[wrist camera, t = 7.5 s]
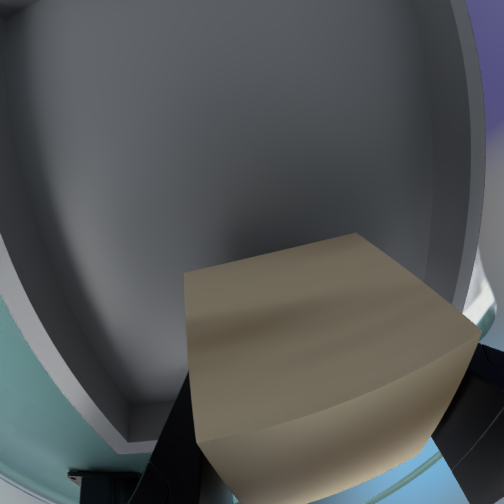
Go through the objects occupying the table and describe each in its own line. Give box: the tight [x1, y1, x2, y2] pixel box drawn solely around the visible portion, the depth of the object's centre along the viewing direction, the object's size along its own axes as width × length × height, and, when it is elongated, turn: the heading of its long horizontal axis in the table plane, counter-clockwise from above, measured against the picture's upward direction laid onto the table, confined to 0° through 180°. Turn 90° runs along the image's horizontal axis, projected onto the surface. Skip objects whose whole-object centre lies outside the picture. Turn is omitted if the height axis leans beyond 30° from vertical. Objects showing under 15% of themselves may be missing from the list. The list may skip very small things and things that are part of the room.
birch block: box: [184, 233, 482, 504], centre depth 7 cm, size 5×5×5 cm
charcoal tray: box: [0, 0, 486, 455], centre depth 8 cm, size 18×16×3 cm
